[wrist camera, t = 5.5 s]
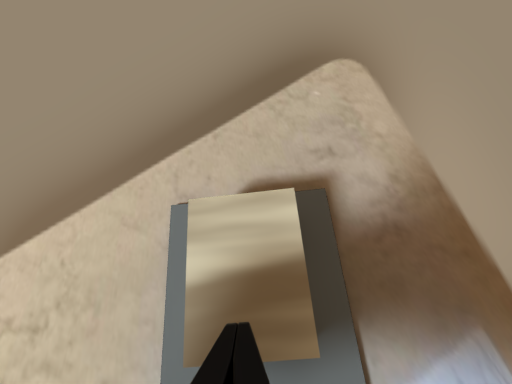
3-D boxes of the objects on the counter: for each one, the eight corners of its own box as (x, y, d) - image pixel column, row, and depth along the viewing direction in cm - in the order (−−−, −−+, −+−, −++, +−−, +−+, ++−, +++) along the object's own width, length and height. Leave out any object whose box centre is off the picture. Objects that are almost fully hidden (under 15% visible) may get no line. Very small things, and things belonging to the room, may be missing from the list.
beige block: (320, 357, 11) (294, 187, 14) (182, 367, 11) (188, 199, 14) (311, 344, 14) (291, 208, 17) (205, 352, 14) (205, 217, 17)
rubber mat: (390, 511, 11) (393, 517, 11) (155, 519, 12) (151, 526, 12) (323, 190, 18) (324, 188, 17) (173, 207, 18) (171, 205, 18)
